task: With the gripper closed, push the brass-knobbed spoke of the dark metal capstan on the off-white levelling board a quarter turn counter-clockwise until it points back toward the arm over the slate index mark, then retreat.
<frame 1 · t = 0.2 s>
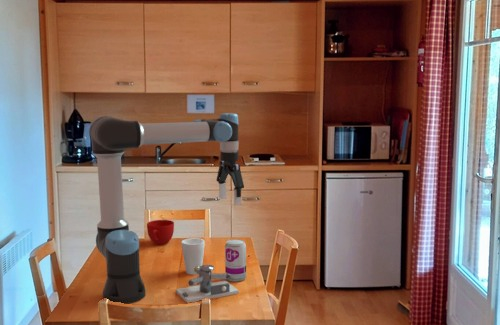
hand: (230, 201, 236), 28 cm above the table, fingers open, 13 cm apart
foam cup: (193, 272, 232), on the table
ceramic cup: (159, 244, 272), on the table
stand: (207, 292, 209), on the table
supplement can: (235, 278, 224), on the table
capstan: (203, 277, 209), point 6 cm above the table, hinge at 0.0°
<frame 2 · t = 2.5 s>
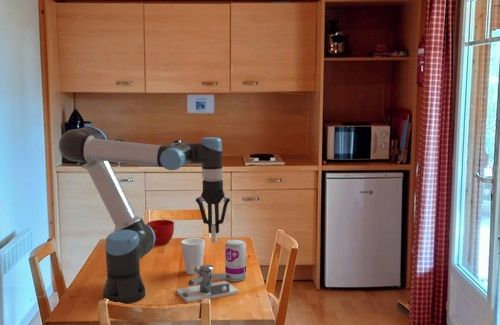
hand: (214, 241, 212), 18 cm above the table, fingers closed
nothing on the table moved.
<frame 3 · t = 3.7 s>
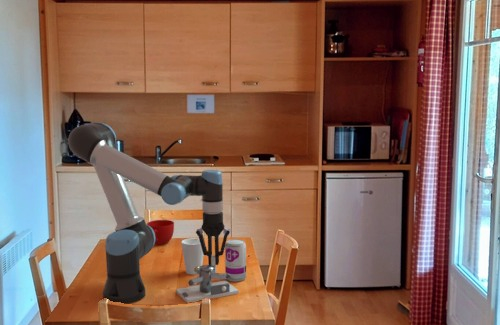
hand: (213, 272, 214), 6 cm above the table, fingers closed
nothing on the table moved.
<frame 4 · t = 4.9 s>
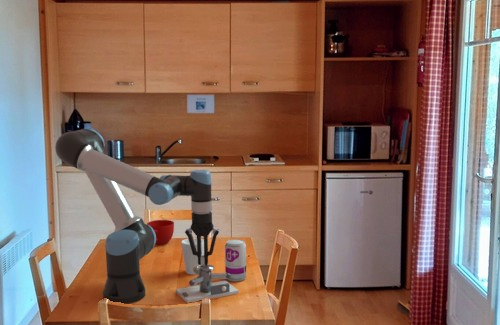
hand: (203, 272, 214), 6 cm above the table, fingers closed
capstan: (202, 277, 209), point 6 cm above the table, hinge at 2.4°, touching gripper
everything else where it was.
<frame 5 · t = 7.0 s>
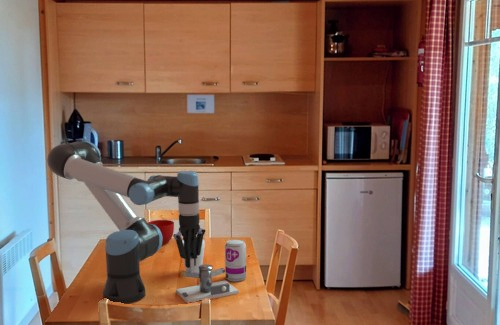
hand: (190, 275, 211), 6 cm above the table, fingers closed
capstan: (199, 278, 208), point 6 cm above the table, hinge at 46.6°, touching gripper
everything else where it was.
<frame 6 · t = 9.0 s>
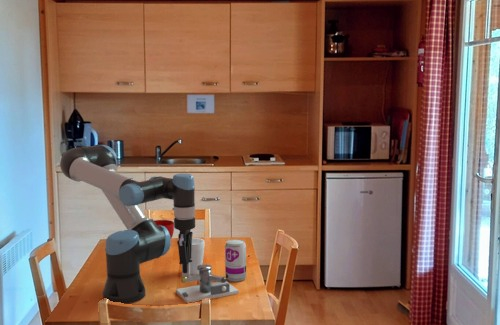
hand: (186, 280, 206), 6 cm above the table, fingers closed
capstan: (199, 279, 206), point 6 cm above the table, hinge at 90.5°, touching gripper
everything else where it was.
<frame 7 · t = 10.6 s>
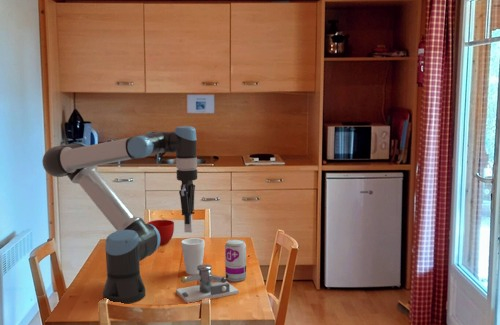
hand: (188, 231, 210), 22 cm above the table, fingers closed
capstan: (199, 279, 206), point 6 cm above the table, hinge at 90.6°
everything else where it was.
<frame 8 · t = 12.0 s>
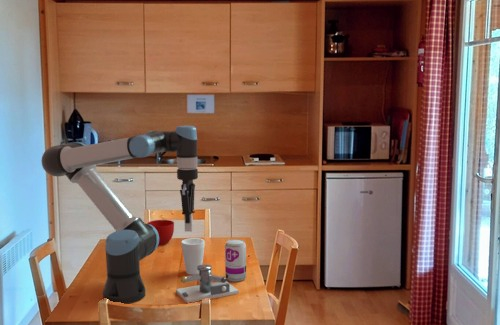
hand: (188, 230, 211), 22 cm above the table, fingers closed
nothing on the table moved.
at the end: capstan at +91° (first picture: +0°) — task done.
